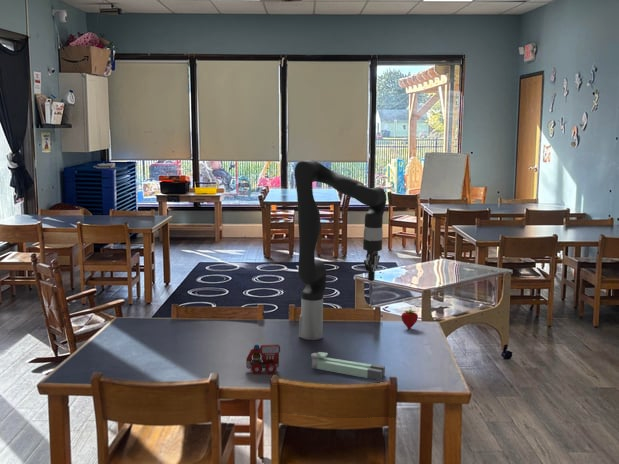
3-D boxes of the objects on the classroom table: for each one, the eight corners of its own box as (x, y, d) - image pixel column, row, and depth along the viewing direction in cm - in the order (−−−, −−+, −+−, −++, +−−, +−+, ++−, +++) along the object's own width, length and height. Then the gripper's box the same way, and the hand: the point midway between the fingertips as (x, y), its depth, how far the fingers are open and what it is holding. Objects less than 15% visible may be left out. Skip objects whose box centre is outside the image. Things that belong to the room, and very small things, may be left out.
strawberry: (399, 326, 317) (400, 305, 316) (415, 326, 318) (416, 305, 316) (402, 330, 312) (403, 308, 310) (418, 330, 312) (420, 308, 311)
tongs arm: (309, 367, 264) (309, 355, 264) (314, 363, 269) (314, 351, 268) (380, 379, 254) (381, 366, 253) (384, 374, 259) (385, 362, 258)
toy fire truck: (246, 367, 264) (246, 341, 262) (279, 367, 265) (279, 341, 263) (246, 374, 257) (246, 347, 255) (280, 374, 258) (280, 347, 256)
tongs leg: (310, 368, 265) (310, 357, 264) (313, 365, 267) (313, 355, 267) (380, 380, 254) (380, 370, 253) (382, 378, 256) (382, 367, 256)
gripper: (369, 234, 286) (368, 275, 289) (358, 239, 274) (356, 282, 278) (387, 236, 283) (385, 278, 286) (376, 241, 271) (374, 285, 274)
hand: (371, 280), depth 282 cm, fingers closed
